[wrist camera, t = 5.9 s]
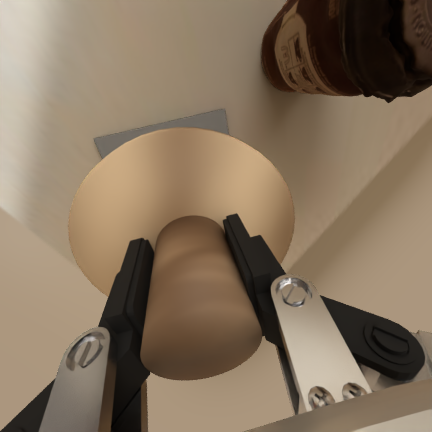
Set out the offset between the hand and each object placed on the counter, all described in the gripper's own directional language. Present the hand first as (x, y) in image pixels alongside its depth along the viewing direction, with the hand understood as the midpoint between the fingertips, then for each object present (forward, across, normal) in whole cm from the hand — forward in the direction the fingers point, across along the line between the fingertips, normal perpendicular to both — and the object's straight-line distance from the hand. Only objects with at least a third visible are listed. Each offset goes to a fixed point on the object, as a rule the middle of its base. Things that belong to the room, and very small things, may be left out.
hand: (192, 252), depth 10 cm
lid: (+2, 0, 0) cm, 2 cm away
